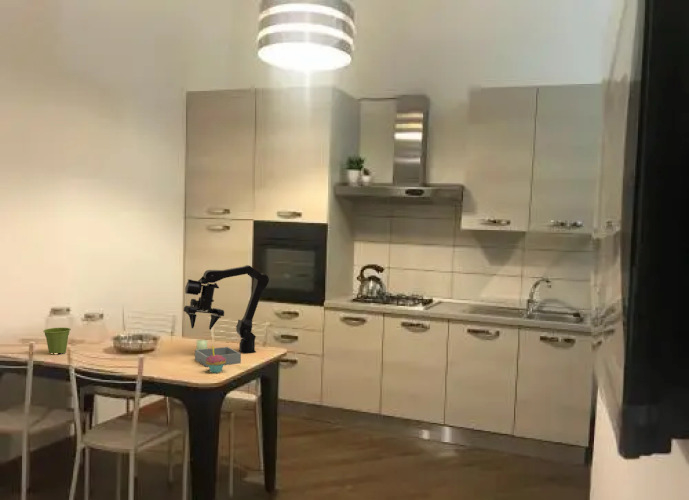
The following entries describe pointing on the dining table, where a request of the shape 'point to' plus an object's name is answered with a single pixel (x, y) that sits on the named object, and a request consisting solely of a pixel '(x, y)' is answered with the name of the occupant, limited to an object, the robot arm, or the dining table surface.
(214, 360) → the cupcake
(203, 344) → the green cylinder
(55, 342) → the plant pot
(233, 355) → the serving tray
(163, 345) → the dining table surface
